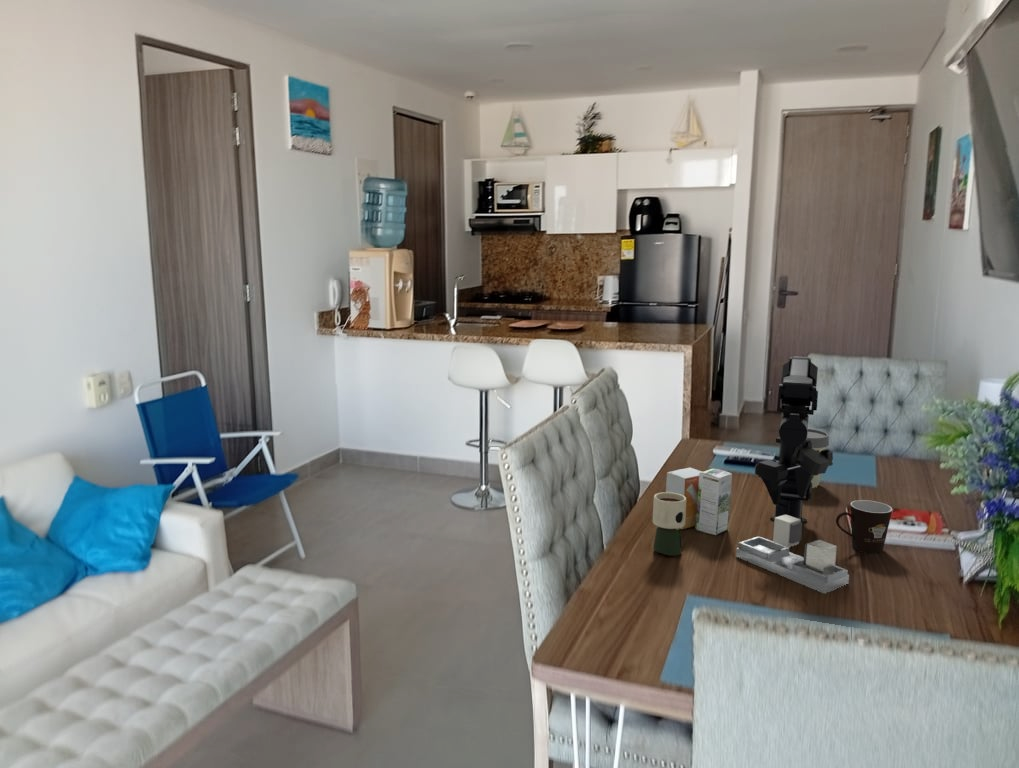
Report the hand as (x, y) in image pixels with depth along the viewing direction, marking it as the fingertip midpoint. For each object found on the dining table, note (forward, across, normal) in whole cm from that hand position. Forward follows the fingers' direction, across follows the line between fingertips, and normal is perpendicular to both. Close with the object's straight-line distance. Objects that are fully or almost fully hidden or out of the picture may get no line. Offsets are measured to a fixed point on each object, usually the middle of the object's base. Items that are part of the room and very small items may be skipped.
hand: (788, 501), depth 178 cm
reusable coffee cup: (+11, +42, +26) cm, 50 cm away
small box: (+10, -10, +22) cm, 26 cm away
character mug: (+10, -27, +11) cm, 31 cm away
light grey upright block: (+10, 0, 0) cm, 10 cm away
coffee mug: (+10, +12, -11) cm, 19 cm away
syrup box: (+10, -8, +15) cm, 20 cm away
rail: (+10, -12, -10) cm, 19 cm away
